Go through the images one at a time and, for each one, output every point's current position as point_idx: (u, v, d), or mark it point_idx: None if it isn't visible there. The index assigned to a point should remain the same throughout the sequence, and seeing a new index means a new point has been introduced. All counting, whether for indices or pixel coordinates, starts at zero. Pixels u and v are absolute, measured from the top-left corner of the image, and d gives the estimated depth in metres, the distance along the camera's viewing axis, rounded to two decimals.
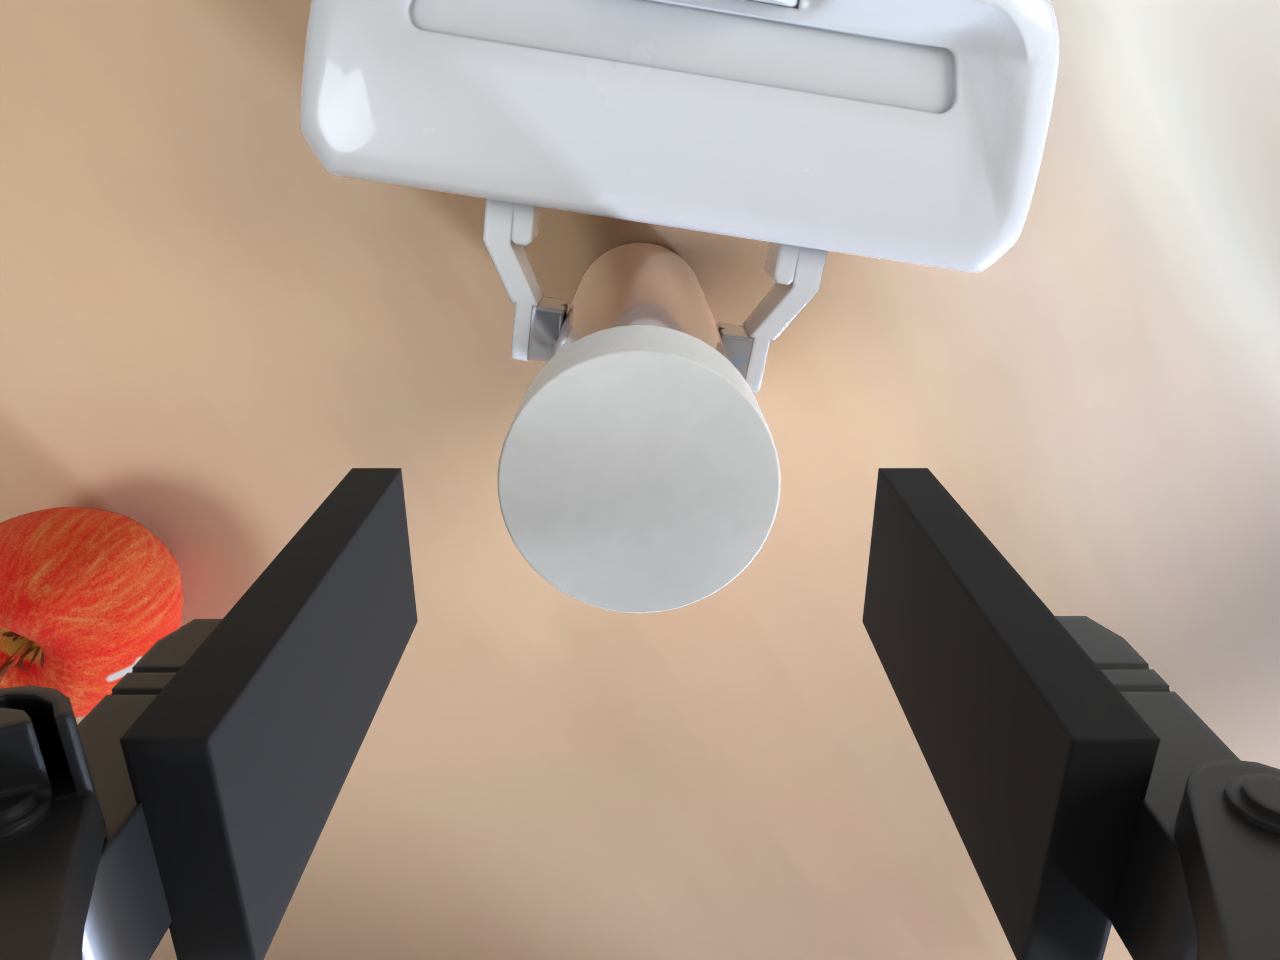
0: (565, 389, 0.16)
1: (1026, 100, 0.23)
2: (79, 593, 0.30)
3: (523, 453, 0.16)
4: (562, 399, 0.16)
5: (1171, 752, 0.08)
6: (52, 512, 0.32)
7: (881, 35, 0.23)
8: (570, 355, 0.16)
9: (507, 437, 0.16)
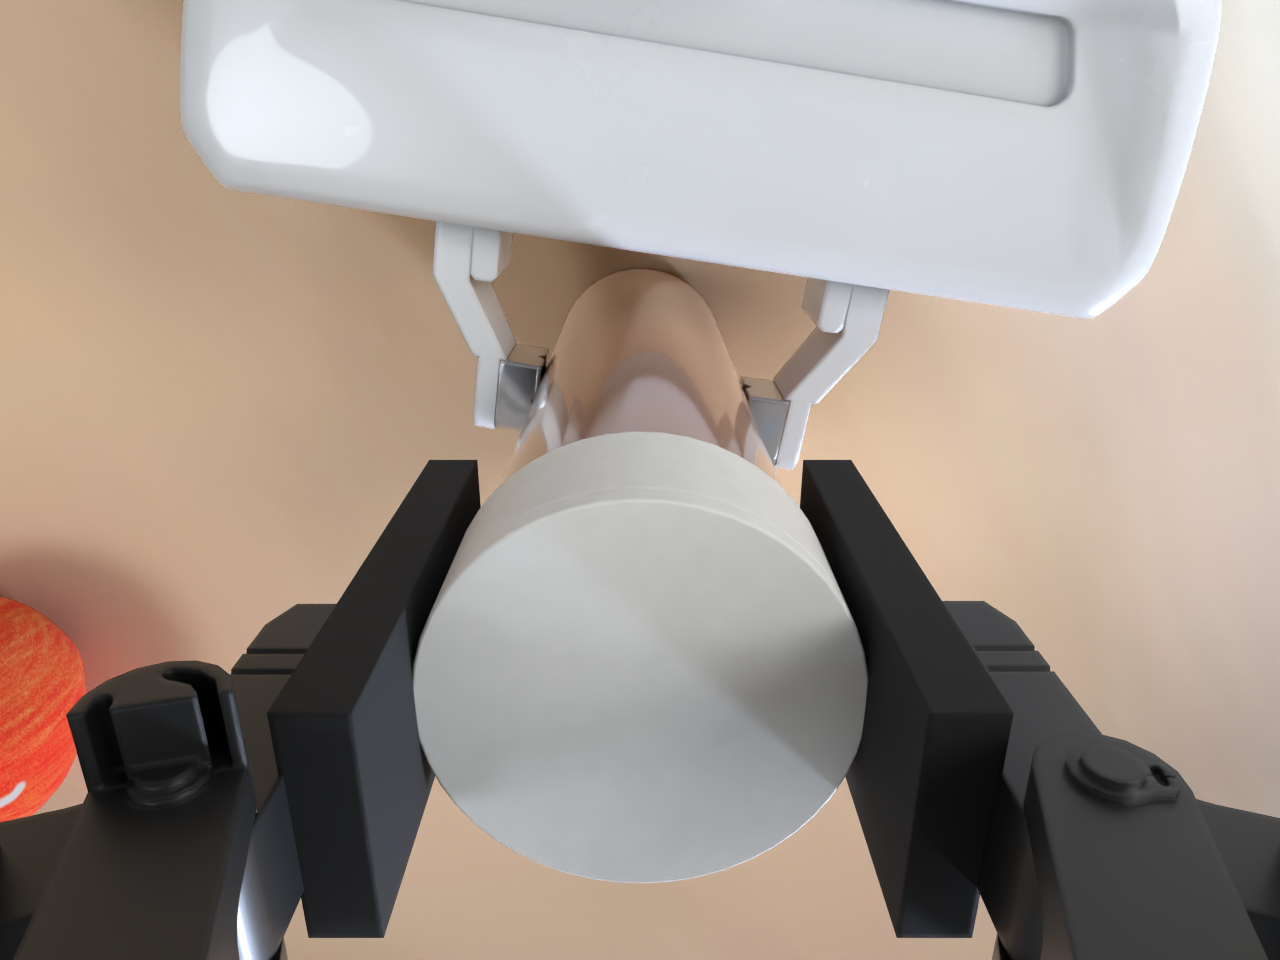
0: (517, 559, 0.09)
1: (1172, 88, 0.17)
2: None
3: (451, 656, 0.10)
4: (513, 575, 0.09)
5: (1039, 728, 0.09)
6: None
7: None
8: (529, 491, 0.10)
9: (424, 632, 0.10)
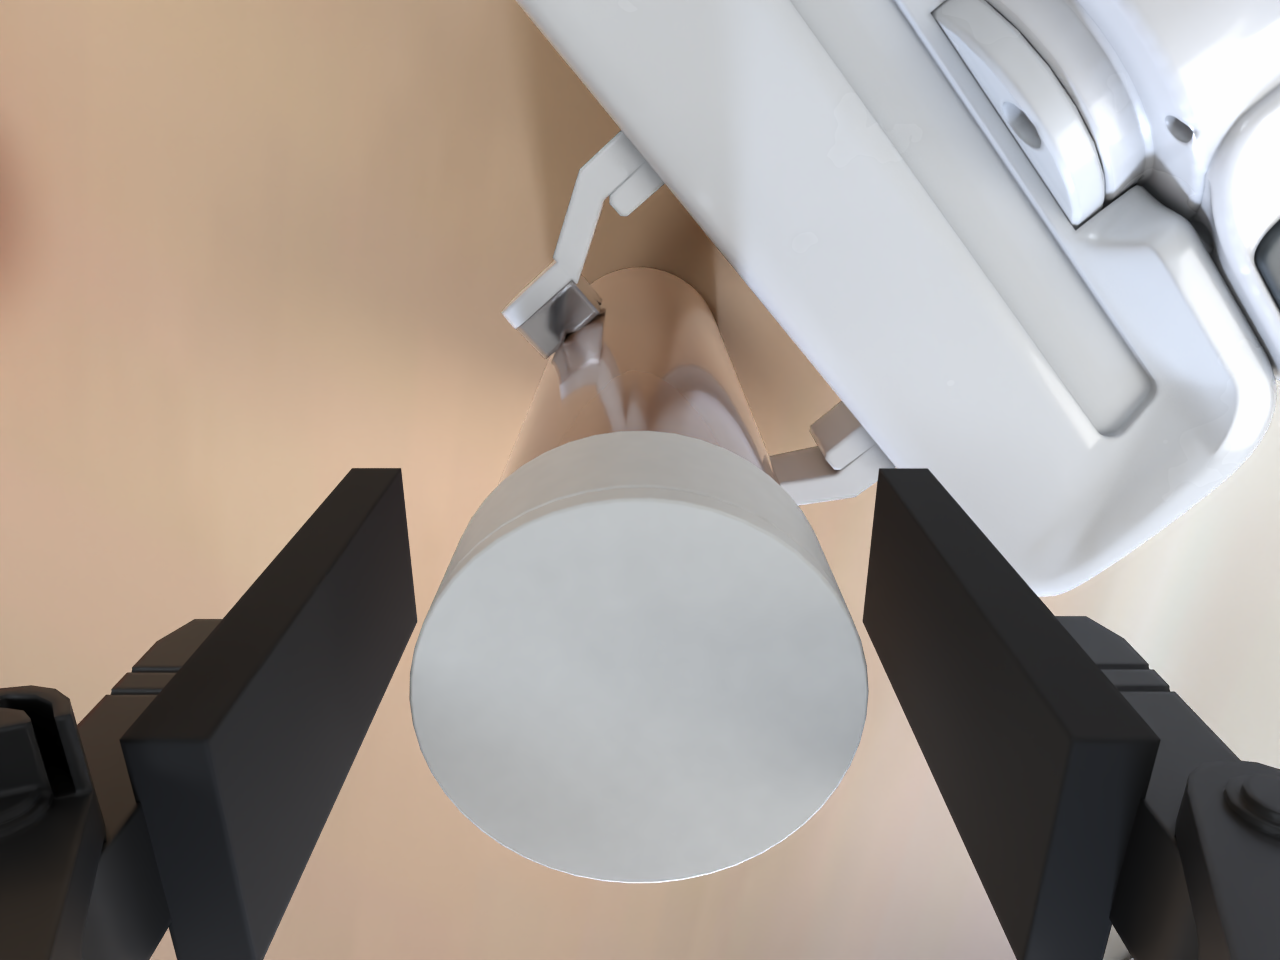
0: (435, 686, 0.10)
1: (1179, 487, 0.20)
2: None
3: (475, 786, 0.10)
4: (444, 699, 0.10)
5: (1172, 753, 0.08)
6: None
7: (1118, 321, 0.19)
8: None
9: (441, 786, 0.10)
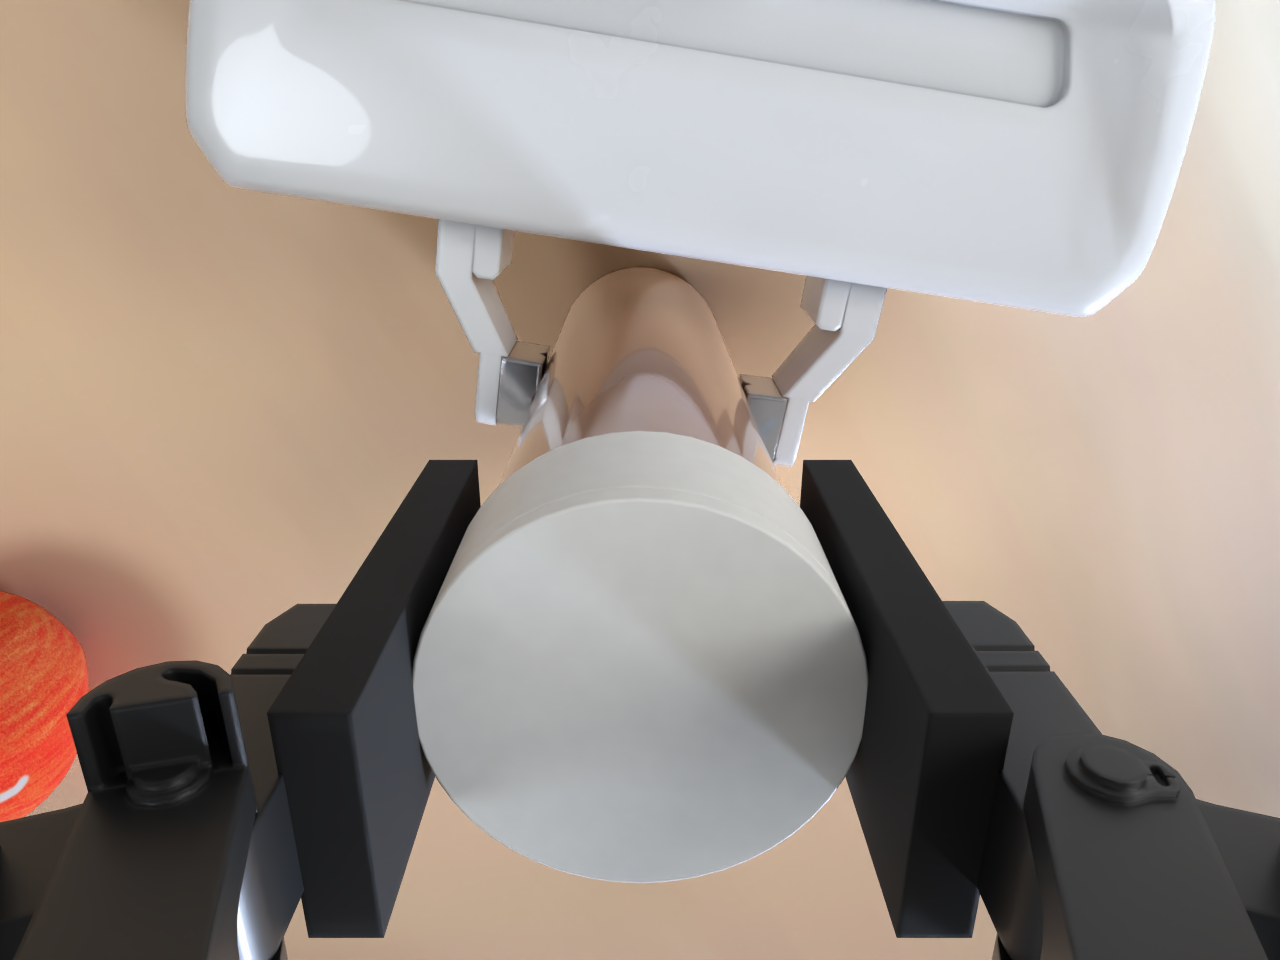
0: (477, 797, 0.11)
1: (1167, 89, 0.17)
2: None
3: (577, 851, 0.11)
4: (492, 801, 0.11)
5: (1039, 728, 0.09)
6: None
7: (971, 1, 0.17)
8: None
9: (553, 867, 0.11)
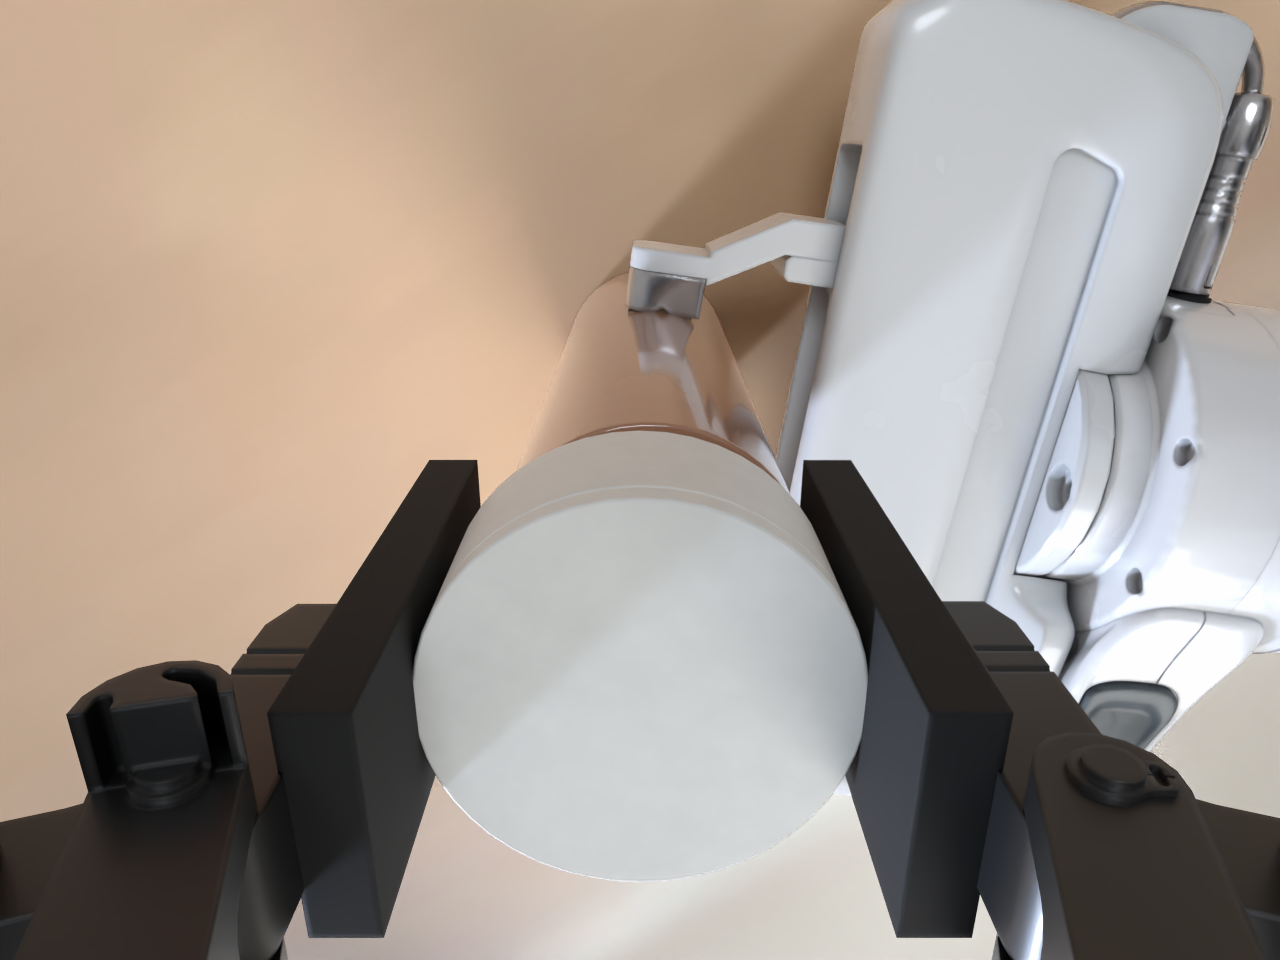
0: (477, 796, 0.11)
1: None
2: None
3: (577, 850, 0.11)
4: (493, 801, 0.11)
5: (1039, 728, 0.09)
6: None
7: None
8: None
9: (553, 866, 0.11)
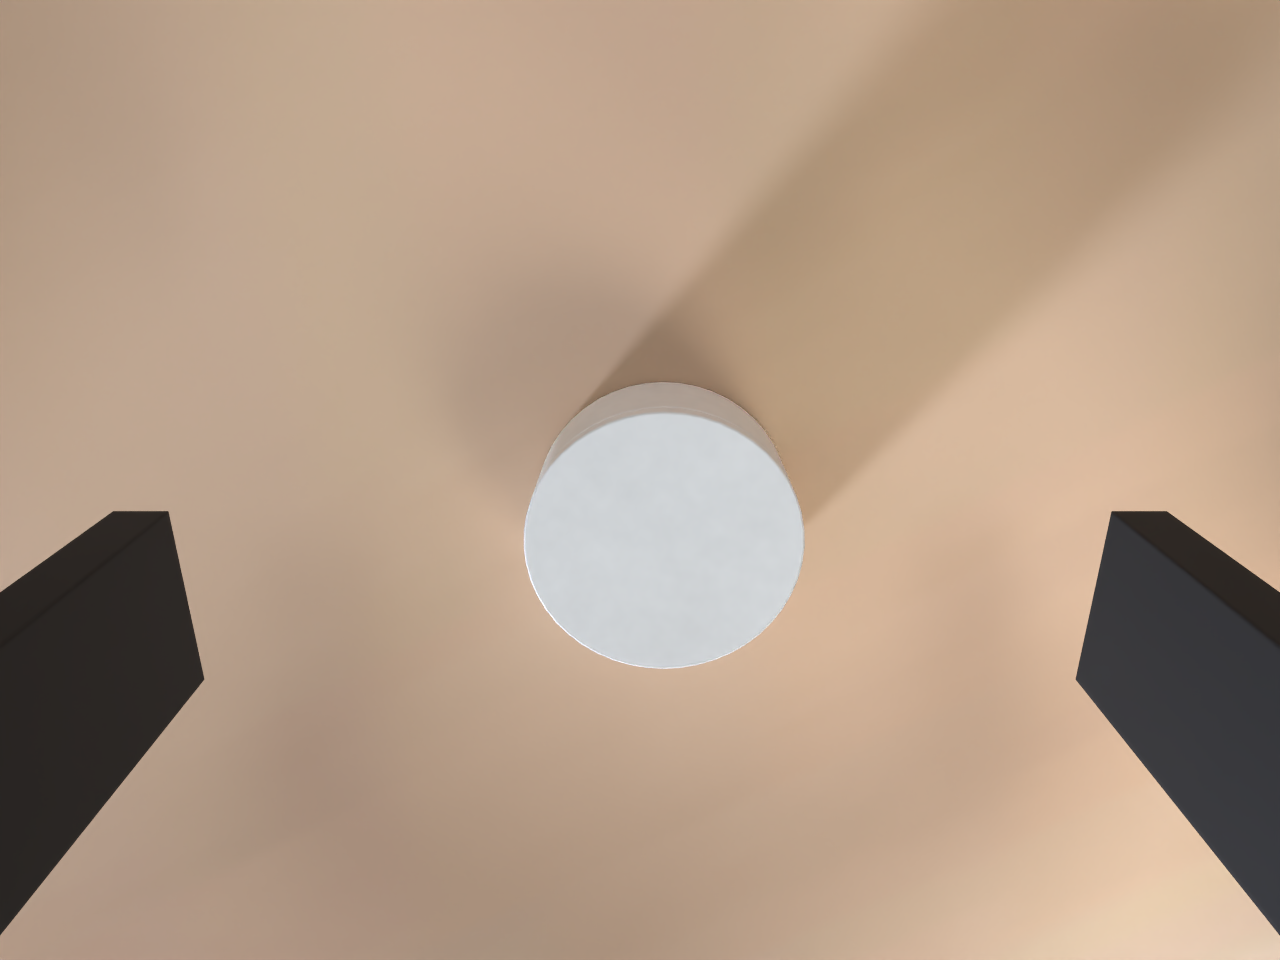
0: (561, 607, 0.17)
1: None
2: None
3: (623, 645, 0.17)
4: (571, 610, 0.17)
5: None
6: None
7: None
8: None
9: (607, 657, 0.17)
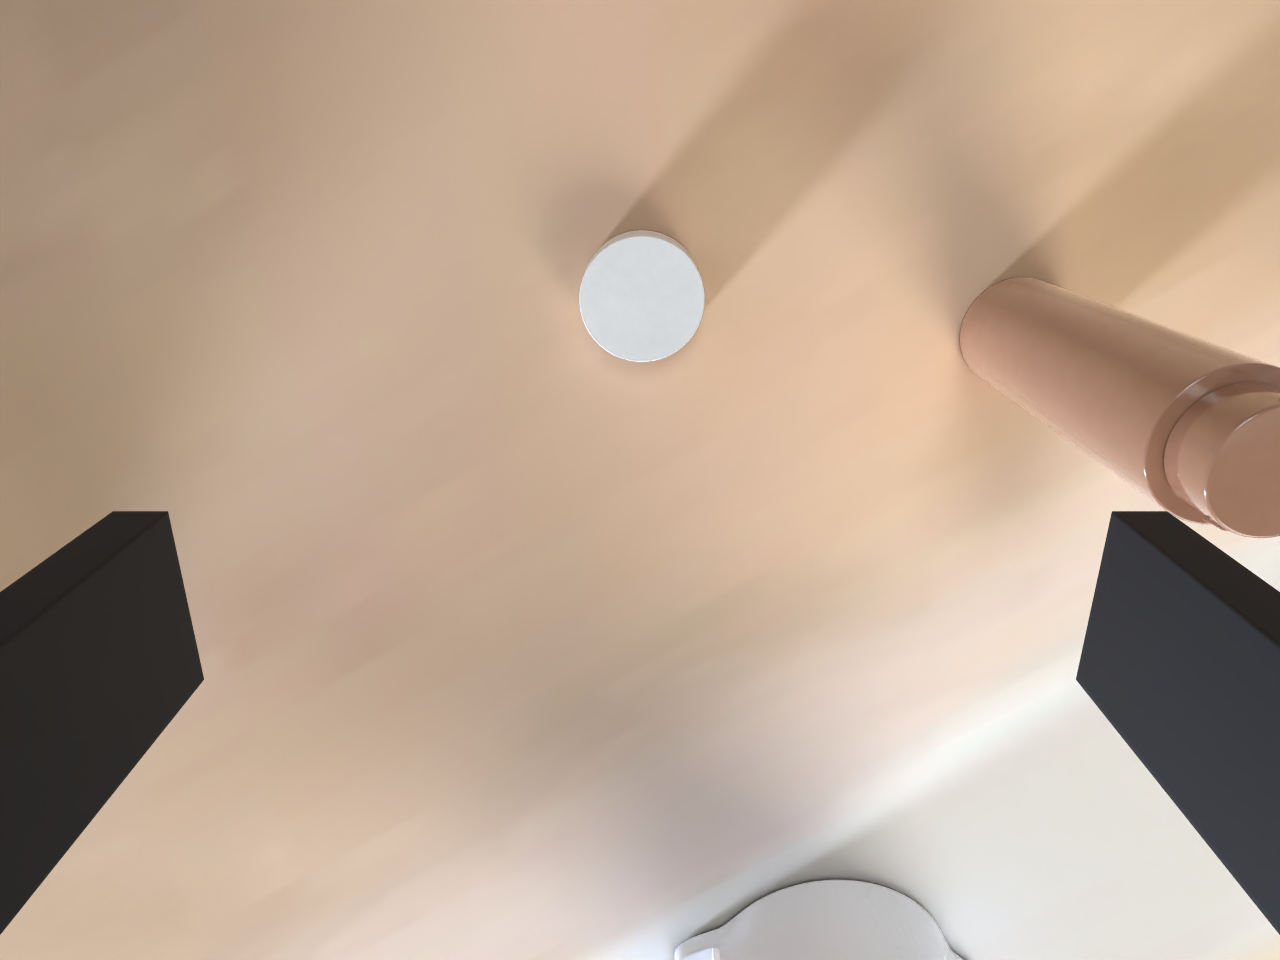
0: (595, 330, 0.37)
1: None
2: None
3: (624, 349, 0.37)
4: (600, 332, 0.37)
5: None
6: None
7: None
8: None
9: None
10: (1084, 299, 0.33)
